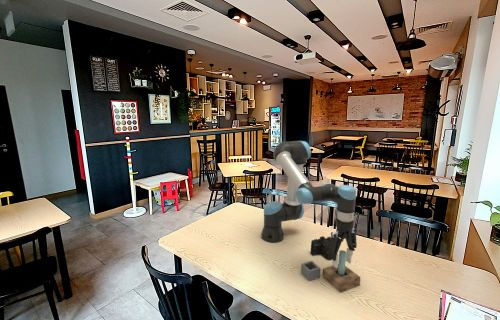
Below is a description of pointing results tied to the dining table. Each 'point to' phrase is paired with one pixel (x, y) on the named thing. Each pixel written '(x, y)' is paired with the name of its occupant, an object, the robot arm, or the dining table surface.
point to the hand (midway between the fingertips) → (341, 263)
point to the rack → (341, 278)
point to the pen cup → (310, 270)
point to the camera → (321, 247)
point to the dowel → (341, 263)
